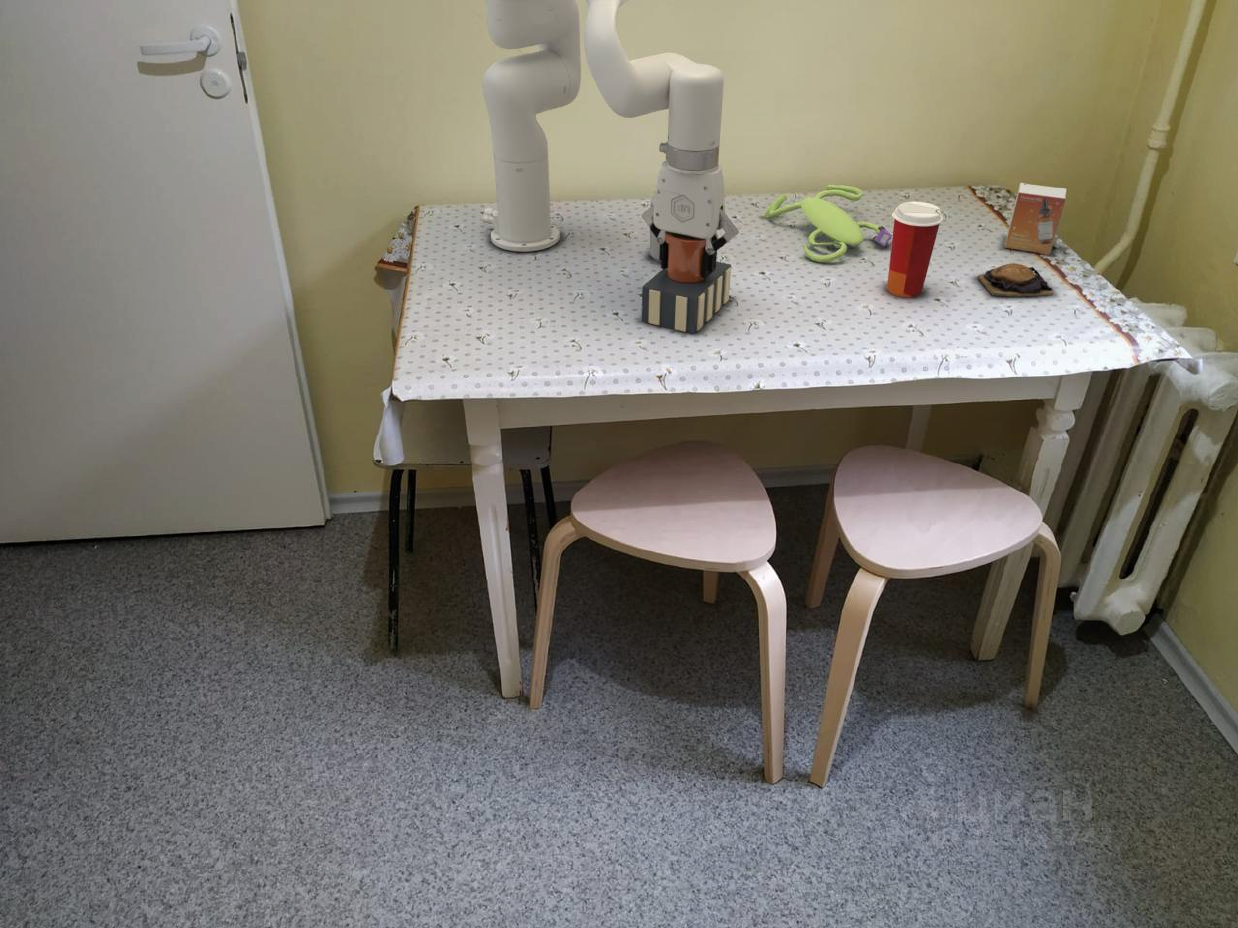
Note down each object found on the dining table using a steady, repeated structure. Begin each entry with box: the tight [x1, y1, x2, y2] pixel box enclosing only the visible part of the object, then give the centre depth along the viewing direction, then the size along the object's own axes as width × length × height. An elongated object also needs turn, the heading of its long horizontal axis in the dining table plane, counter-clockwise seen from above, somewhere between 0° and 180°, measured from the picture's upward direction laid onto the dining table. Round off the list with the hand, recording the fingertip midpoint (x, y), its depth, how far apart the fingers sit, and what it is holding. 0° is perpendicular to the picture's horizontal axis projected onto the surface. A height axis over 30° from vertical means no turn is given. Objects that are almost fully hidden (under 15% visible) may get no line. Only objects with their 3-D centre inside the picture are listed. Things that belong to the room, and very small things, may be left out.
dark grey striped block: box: [641, 260, 732, 335], centre depth 157 cm, size 9×14×6 cm, turn 152°
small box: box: [1004, 182, 1068, 256], centre depth 177 cm, size 8×6×10 cm
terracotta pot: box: [665, 231, 713, 283], centre depth 153 cm, size 7×7×7 cm
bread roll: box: [977, 262, 1054, 298], centre depth 165 cm, size 11×8×4 cm
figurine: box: [764, 184, 893, 263], centre depth 183 cm, size 18×27×6 cm
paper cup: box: [886, 201, 944, 298], centre depth 160 cm, size 8×8×14 cm
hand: (687, 269), depth 155 cm, fingers closed on terracotta pot, 6 cm apart
